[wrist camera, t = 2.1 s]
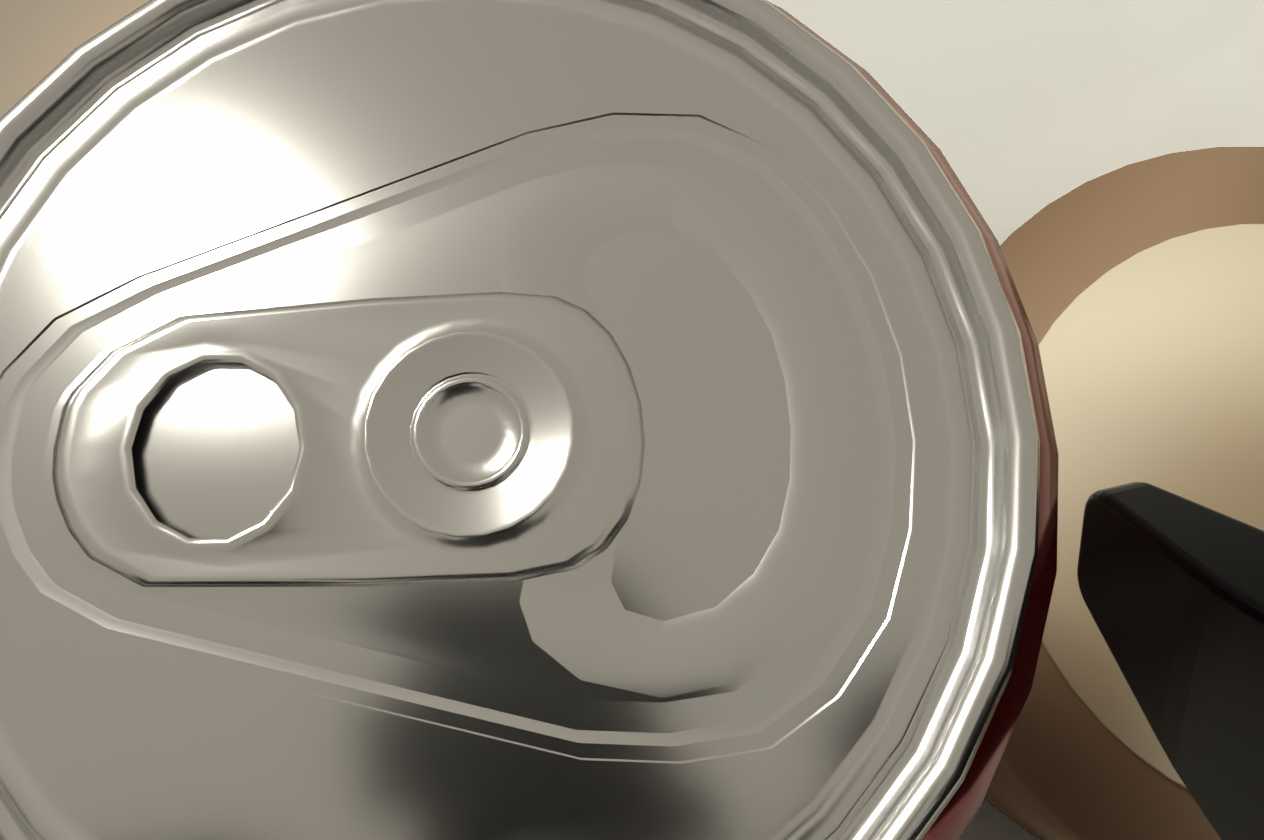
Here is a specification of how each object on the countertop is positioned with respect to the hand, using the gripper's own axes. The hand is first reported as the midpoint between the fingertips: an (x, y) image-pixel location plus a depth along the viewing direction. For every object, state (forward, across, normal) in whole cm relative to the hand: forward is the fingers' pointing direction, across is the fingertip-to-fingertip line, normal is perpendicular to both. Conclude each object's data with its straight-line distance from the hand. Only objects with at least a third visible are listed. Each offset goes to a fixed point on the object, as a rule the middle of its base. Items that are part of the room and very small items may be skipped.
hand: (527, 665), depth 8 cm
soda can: (+8, 0, +6) cm, 10 cm away
